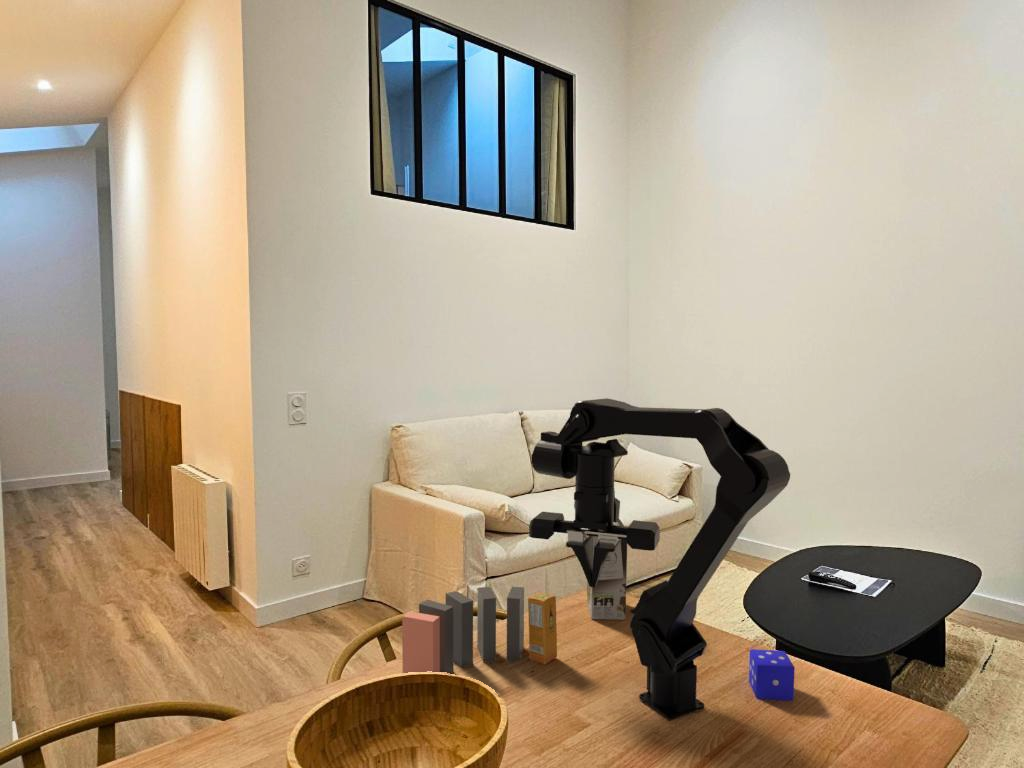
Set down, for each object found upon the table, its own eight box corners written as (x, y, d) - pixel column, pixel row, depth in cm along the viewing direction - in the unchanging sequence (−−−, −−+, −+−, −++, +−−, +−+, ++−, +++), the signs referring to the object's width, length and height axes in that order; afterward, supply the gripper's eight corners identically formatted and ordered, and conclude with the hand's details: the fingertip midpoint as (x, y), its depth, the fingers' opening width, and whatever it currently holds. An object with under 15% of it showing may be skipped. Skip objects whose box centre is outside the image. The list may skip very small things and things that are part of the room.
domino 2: (427, 662, 107) (427, 599, 106) (453, 671, 104) (453, 606, 104) (419, 667, 105) (418, 603, 105) (445, 676, 103) (445, 610, 102)
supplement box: (540, 651, 111) (540, 590, 110) (557, 658, 109) (558, 595, 108) (527, 659, 109) (527, 596, 108) (544, 665, 106) (545, 602, 106)
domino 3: (456, 652, 111) (456, 590, 110) (473, 664, 107) (473, 600, 106) (445, 655, 110) (445, 593, 109) (461, 667, 106) (461, 603, 105)
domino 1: (409, 677, 103) (409, 611, 102) (439, 683, 101) (439, 616, 100) (402, 683, 101) (402, 616, 100) (433, 690, 99) (433, 621, 98)
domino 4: (489, 646, 113) (489, 586, 112) (495, 660, 108) (496, 598, 107) (477, 648, 112) (477, 587, 112) (483, 662, 107) (483, 599, 107)
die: (756, 699, 97) (757, 664, 97) (748, 681, 102) (749, 648, 102) (793, 701, 96) (794, 666, 96) (784, 683, 101) (785, 650, 101)
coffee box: (627, 620, 124) (628, 531, 123) (590, 620, 124) (592, 531, 123) (619, 601, 133) (621, 518, 132) (586, 600, 133) (587, 517, 132)
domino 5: (523, 647, 113) (524, 587, 112) (519, 661, 108) (519, 598, 107) (511, 646, 113) (512, 586, 112) (506, 660, 108) (507, 597, 107)
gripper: (665, 478, 107) (663, 576, 108) (550, 469, 114) (549, 563, 115) (655, 493, 97) (652, 602, 98) (528, 482, 103) (527, 585, 104)
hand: (593, 586), depth 104 cm, fingers closed
